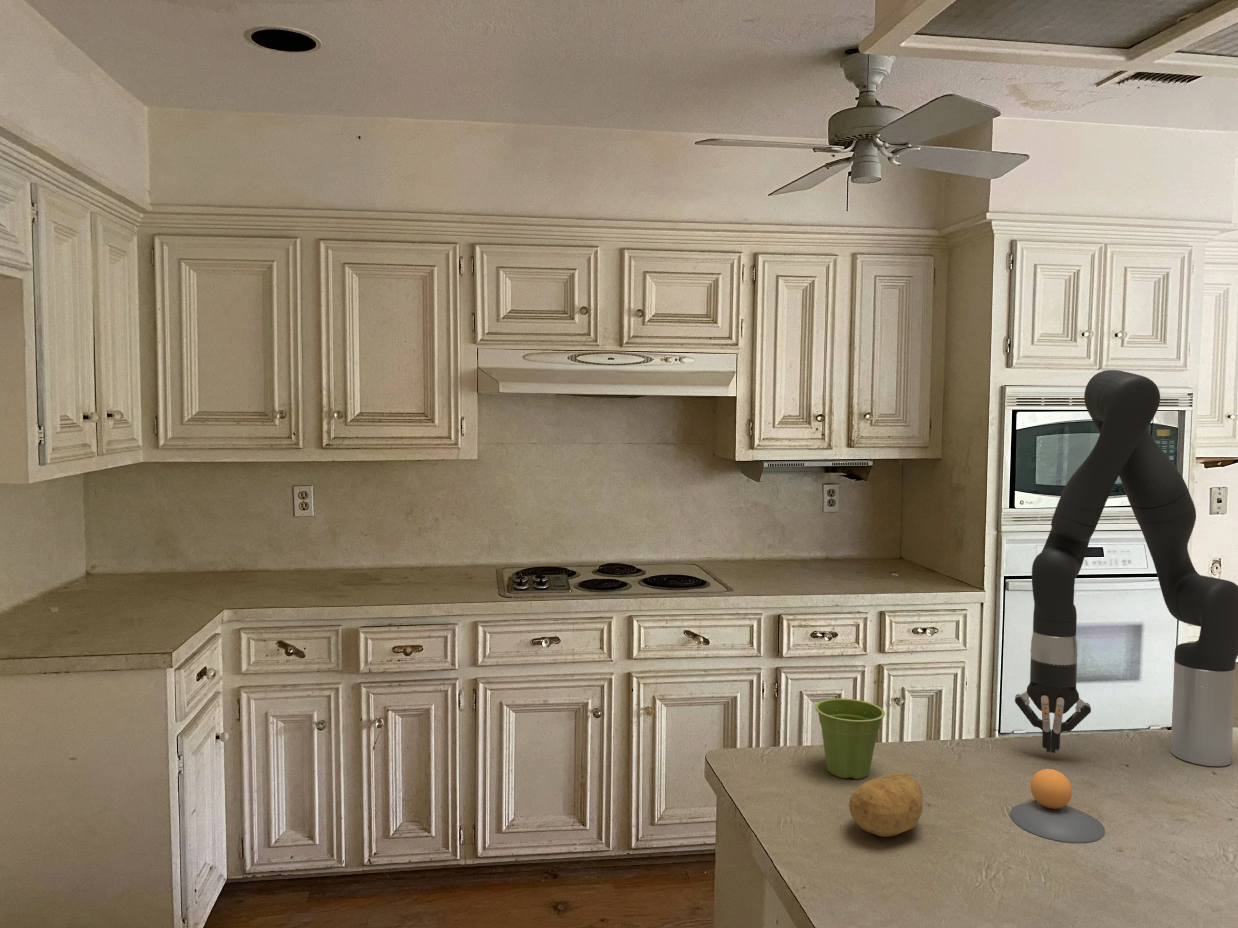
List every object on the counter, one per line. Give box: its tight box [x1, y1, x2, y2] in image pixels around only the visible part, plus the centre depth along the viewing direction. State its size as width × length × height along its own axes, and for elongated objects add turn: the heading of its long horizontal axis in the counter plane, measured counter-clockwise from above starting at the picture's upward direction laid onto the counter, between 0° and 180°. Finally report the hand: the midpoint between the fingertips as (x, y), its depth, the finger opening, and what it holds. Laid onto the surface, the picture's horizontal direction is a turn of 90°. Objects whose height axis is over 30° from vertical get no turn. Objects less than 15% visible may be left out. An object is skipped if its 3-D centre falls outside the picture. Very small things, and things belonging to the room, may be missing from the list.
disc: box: [1009, 801, 1105, 844], centre depth 135 cm, size 13×13×1 cm
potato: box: [848, 772, 924, 838], centre depth 132 cm, size 10×14×8 cm
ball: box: [1029, 768, 1073, 809], centre depth 140 cm, size 6×6×6 cm
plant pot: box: [814, 697, 886, 780], centre depth 153 cm, size 12×12×11 cm
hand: (1050, 750), depth 159 cm, fingers closed
